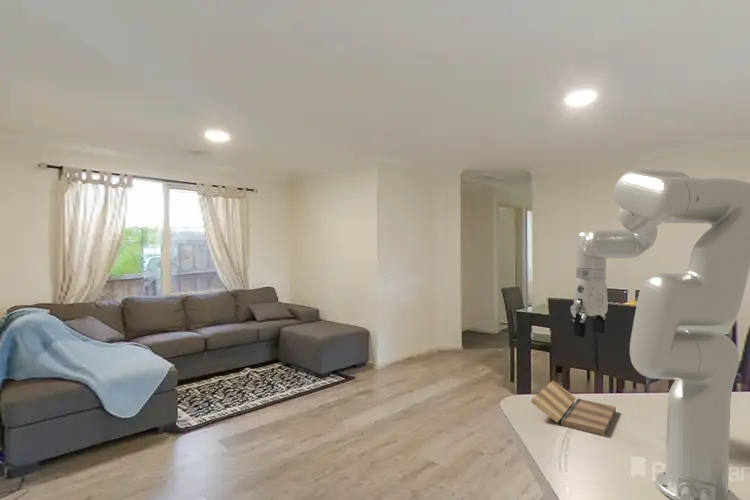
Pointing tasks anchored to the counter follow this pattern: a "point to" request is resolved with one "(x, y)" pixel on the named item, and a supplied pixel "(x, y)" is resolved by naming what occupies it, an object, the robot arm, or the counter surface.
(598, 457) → the counter surface
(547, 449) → the counter surface
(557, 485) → the counter surface
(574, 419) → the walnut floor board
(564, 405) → the oak plank
